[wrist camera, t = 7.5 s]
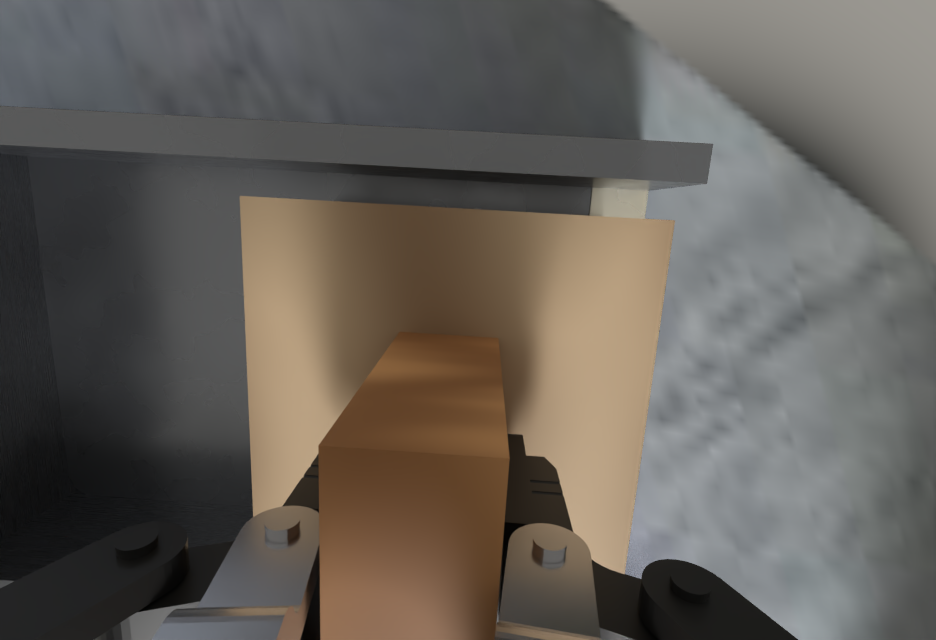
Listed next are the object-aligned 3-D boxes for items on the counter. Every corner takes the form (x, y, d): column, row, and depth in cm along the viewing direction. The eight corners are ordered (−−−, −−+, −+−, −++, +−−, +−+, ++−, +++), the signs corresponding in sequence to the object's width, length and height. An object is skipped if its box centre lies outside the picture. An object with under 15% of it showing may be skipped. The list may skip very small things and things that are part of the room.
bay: (642, 164, 19) (753, 132, 11) (595, 537, 22) (654, 713, 15) (21, 130, 19) (-291, 77, 12) (70, 499, 23) (-146, 649, 15)
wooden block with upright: (604, 216, 18) (875, 231, 5) (570, 511, 21) (703, 983, 8) (331, 201, 18) (-14, 180, 6) (332, 494, 21) (97, 927, 8)
